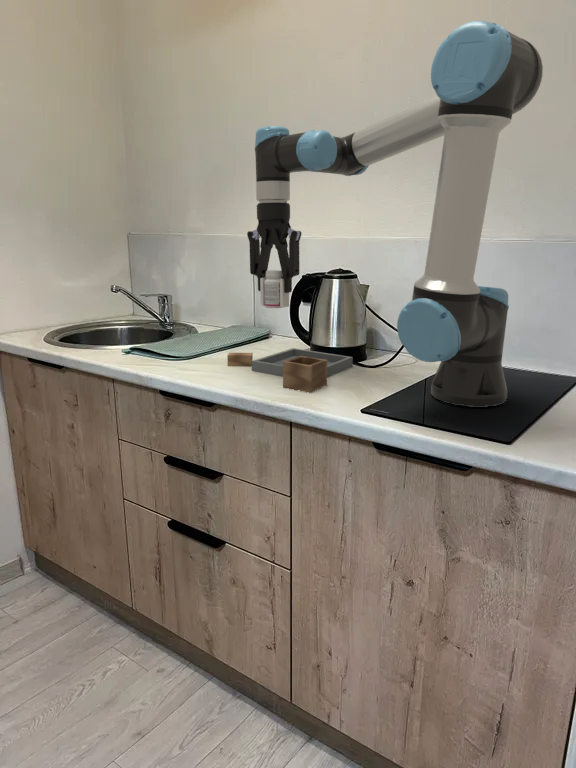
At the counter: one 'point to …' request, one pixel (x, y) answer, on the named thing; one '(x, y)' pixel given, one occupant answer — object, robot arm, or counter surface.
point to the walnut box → (305, 373)
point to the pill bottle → (272, 289)
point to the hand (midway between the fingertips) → (274, 305)
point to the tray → (275, 361)
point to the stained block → (240, 359)
